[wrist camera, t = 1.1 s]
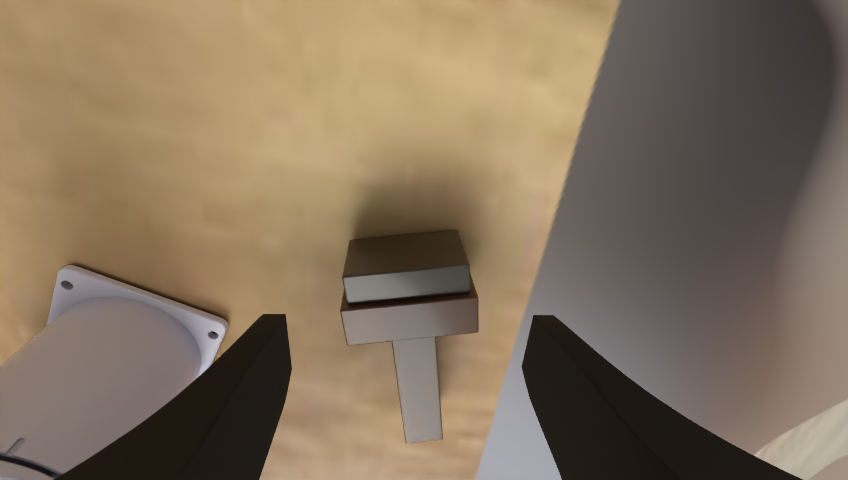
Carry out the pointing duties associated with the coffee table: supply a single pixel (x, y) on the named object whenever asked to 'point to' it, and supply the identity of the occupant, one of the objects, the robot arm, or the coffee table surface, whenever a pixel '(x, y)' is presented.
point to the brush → (410, 312)
